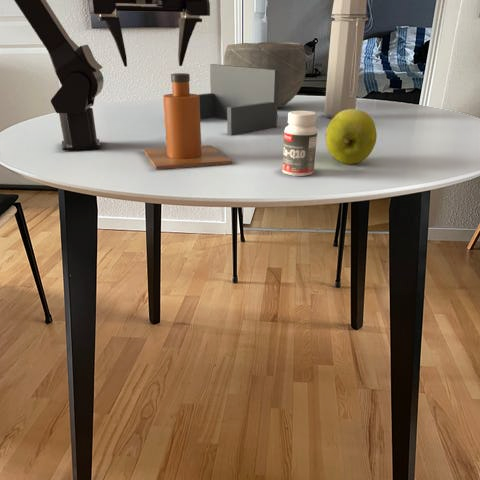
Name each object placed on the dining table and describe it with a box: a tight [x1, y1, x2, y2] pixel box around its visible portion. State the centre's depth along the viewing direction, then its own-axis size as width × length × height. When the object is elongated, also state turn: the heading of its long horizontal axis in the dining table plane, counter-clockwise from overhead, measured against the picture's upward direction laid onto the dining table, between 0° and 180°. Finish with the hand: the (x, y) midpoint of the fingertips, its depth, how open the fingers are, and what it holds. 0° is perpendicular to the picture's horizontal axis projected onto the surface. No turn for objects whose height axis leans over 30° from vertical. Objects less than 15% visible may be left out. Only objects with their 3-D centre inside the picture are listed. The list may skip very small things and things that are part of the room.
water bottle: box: [323, 0, 369, 119], centre depth 111 cm, size 9×8×25 cm
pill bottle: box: [282, 110, 318, 177], centre depth 72 cm, size 5×5×8 cm
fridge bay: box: [197, 63, 279, 136], centre depth 106 cm, size 13×20×11 cm, turn 43°
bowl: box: [223, 41, 307, 107], centre depth 127 cm, size 21×21×15 cm
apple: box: [325, 108, 378, 165], centre depth 78 cm, size 8×9×8 cm
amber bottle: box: [162, 72, 202, 159], centre depth 79 cm, size 6×6×12 cm
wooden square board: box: [143, 144, 232, 171], centre depth 82 cm, size 12×12×1 cm
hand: (153, 66), depth 84 cm, fingers open, 9 cm apart
